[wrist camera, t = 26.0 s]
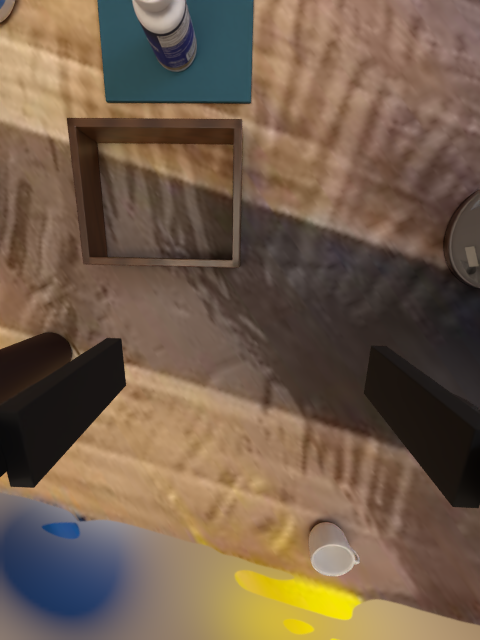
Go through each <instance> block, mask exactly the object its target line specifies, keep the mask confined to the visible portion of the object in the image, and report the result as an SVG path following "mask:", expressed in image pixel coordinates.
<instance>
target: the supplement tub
mask: <svg viewBox="0 0 480 640" xmlns="http://www.w3.org/2000/svg"><path fill="white" fill-rule="evenodd" d="M14 3H15V0H0V22H2V21H3V20H5V19H6V18H7V17H8V16H9V14H10V13H11V11H12V9H13V6H14Z"/></svg>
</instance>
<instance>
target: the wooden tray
mask: <svg viewBox="0 0 480 640" xmlns="http://www.w3.org/2000/svg"><path fill="white" fill-rule="evenodd" d="M67 124H68V133H69V142H70V150H71V159H72V168H73V177H74V185H75V194H76V203H77V212H78V221H79V229H80V238H81V247H82V256H83V264H95V265H140V266H186V267H231V268H239V267H240V254H241V204H242V155H243V129H242V119H137V118H67ZM97 143H170V144H234V156H233V232H232V260H228V259H181V258H134V257H107V246H106V236H105V225H104V214H103V203H102V192H101V182H100V171H99V160H98V149H97Z"/></svg>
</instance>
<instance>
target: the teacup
mask: <svg viewBox="0 0 480 640" xmlns="http://www.w3.org/2000/svg"><path fill="white" fill-rule="evenodd" d="M309 551H310V558H311V563H312V566H313V567H314V569H315V570H316V571H318V572H319V573H321V574H323V575H327V576H340V575H343V574H345V573H347V572H349V571H350V570H351V569H352V567H353V566H354V564H358V563H359V562H360V559H359V556H358V554H357V553H356V552H355V551H354V550H353V549H352V548H351V547H350V545H349V543H348V541H347V538H346V536H345V534H344V532H343V531H342V530H341V529H340V528H339V527H338V526H336V525H335V524H333V523H329V522H323V523H319V524H317V525H316V526H315V527H314V528H313V529H312V530H311V532H310V535H309ZM354 555H355V556H356V558H357V561H356V560H355V558H354Z"/></svg>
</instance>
